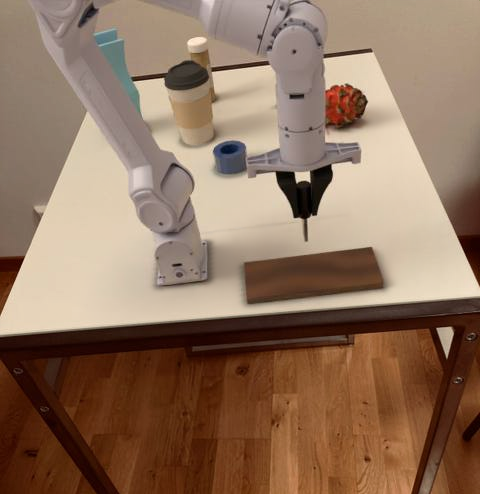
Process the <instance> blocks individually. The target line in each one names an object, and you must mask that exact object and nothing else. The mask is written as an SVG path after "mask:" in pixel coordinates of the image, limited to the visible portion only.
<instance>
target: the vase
mask: <svg viewBox="0 0 480 494" xmlns="http://www.w3.org/2000/svg"><path fill="white" fill-rule="evenodd" d="M94 39H95V41H96V43H97V44H98V46H99V48H100V49H101V51H102V53H103V54H104V56H105V58H106V59H107V61H108V63H109V64H110V66H111V68H112V69H113V71H114V73H115V74H116V76H117V78H118V79H119V81H120V83H121V84H122V86H123V88H124V89H125V91H126V93H127V94H128V96H129V98H130V99H131V101H132V103H133V104H134V106H135V108H136V109H137V111H138V113H139V114H140V116H141V118H142V119H143V121H144V118H143V115H142V114H143V113H142V110H141V100H140V99H141V97H140V92H139V90H138V88H137V85H135V83H134V81H133V79H132V77H131V74H130V73H129V70H128V66H127V61H126V56H125V55H126V54H125V53H126V52H125V39H124V38H120V39H119V38H118V29H117V28H112V29H108V30H104V31H100V32H97V33H96V32H95V33H94ZM144 122H145V121H144Z"/></svg>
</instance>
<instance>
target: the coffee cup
mask: <svg viewBox="0 0 480 494" xmlns="http://www.w3.org/2000/svg"><path fill="white" fill-rule="evenodd" d="M208 79H209V75H208V71H207V69H205V68H203V67H202V66H201V65H200V64H198V63H196V62H195V61H193V60H191V59H188V60H187V59H186V60H183V61H182V62H180V63H178V64H175V65H173V66H171V67H169V68H168V70H167V73H166V74H165V75H164V78H163V80H164V87H165V88H166V91H167V94H168V100H169V103H170V105H171V110H172V114H173V116H174V120H175V122H176V125H177V127H178V130H179V134H180V137H181V140H182V142H183V143H185V144H187V145H200V144H204V143H207V142H209V141H210V140H212V139H213V137H214V135H215V134H214V133H215V132H214V124H213V122H214V121H213V119H214V116H213V105H212V103H213V102H211V93H210V88H209V80H208Z"/></svg>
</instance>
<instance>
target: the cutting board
mask: <svg viewBox="0 0 480 494" xmlns="http://www.w3.org/2000/svg"><path fill="white" fill-rule="evenodd" d="M243 267H244V268H243V270H244V282H245V296H246V303H247V304H248V305H249V304H257V303H266V302H274V301H282V300H283V301H284V300H292V299H300V298H307V297H309V298H310V297H317V296H324V295H325V296H326V295H333V294H342V293H349V292H350V293H351V292H360V291H367V290H368V291H369V290H376V289H383V288H384V285H385V282H384V278H383V276H382V272H381V270H380V267H379V264H378V261H377V258H376V254H375V252H374V249H373V246H367V247H359V248H350V249H342V250H334V251H326V252H318V253H317V252H316V253H308V254H301V255H293V256H285V257H276V258H268V259H261V260H253V261H245V262H243Z"/></svg>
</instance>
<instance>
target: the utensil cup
mask: <svg viewBox="0 0 480 494" xmlns="http://www.w3.org/2000/svg"><path fill="white" fill-rule="evenodd" d="M212 156H213V161H214V166H215V169H216V171H217V172H218V173H219V174H223V175H236V174H239V173H241V172H243V171H244V170H246V169H247V165H246V157H248V151H247V145H246V144H245V142H242V141H240V140H234V139H233V140H225V141H222V142H220V143H218V144H217V145H215V146H214V147H213V150H212Z"/></svg>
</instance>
